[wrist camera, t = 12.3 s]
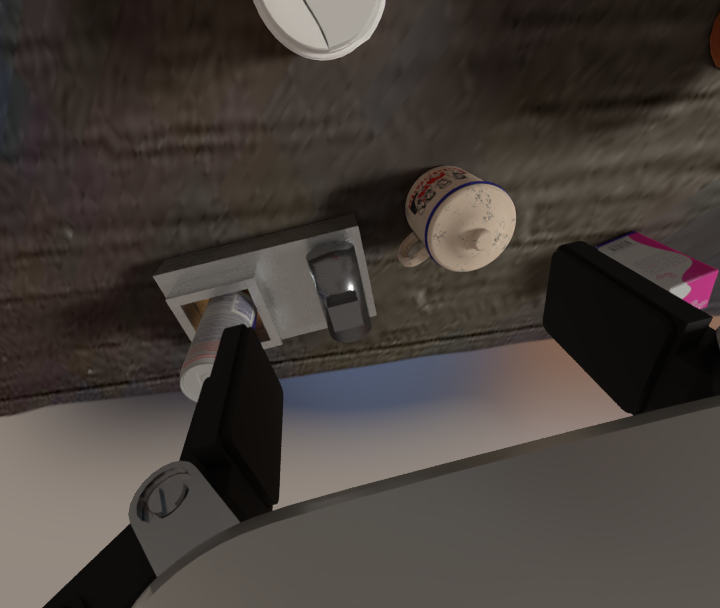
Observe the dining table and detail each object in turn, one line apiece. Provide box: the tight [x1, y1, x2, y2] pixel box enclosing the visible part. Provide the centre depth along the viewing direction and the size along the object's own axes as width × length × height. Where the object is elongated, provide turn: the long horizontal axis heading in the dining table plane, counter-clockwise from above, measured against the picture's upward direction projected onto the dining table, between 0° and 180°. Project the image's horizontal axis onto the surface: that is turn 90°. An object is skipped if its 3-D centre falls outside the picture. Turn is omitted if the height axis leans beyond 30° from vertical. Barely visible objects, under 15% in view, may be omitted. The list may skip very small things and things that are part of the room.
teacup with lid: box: [398, 166, 516, 272], centre depth 36 cm, size 12×9×12 cm
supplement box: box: [595, 231, 718, 309], centre depth 44 cm, size 6×6×12 cm
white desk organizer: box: [153, 214, 376, 349], centre depth 38 cm, size 22×12×11 cm, turn 101°
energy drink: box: [180, 291, 258, 402], centre depth 34 cm, size 5×5×12 cm
